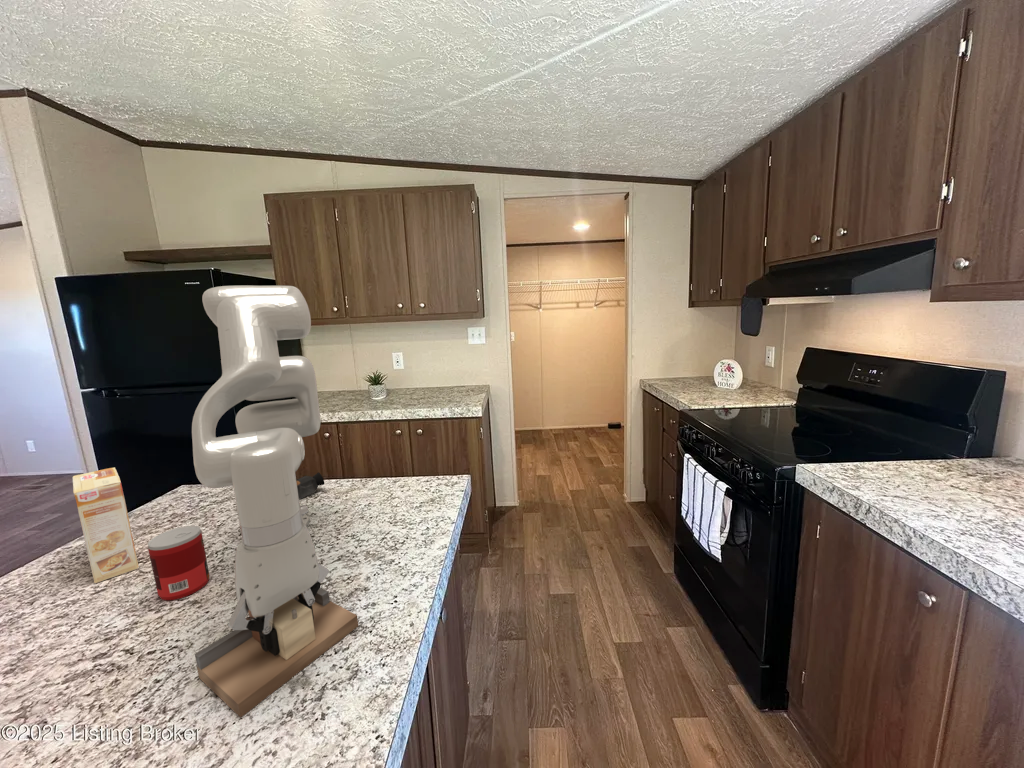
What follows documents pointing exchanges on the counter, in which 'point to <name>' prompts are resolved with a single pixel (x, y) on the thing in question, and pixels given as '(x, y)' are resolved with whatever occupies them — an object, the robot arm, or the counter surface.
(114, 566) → the coffeecake box
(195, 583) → the canned food
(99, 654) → the counter surface
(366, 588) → the counter surface
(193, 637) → the counter surface
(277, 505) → the robot arm
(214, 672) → the board
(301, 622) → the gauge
